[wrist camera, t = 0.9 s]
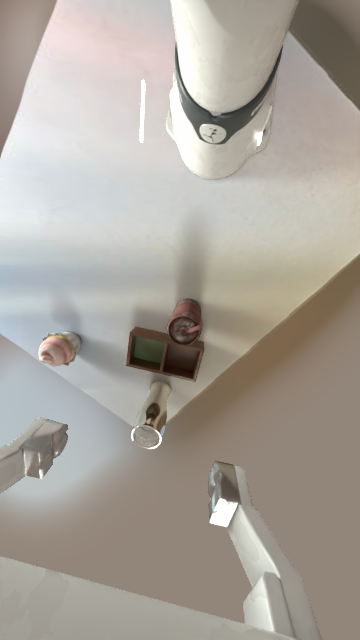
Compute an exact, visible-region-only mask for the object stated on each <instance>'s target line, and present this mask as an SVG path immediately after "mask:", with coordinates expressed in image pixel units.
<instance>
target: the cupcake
mask: <svg viewBox="0 0 360 640" xmlns="http://www.w3.org/2000/svg"><path fill="white" fill-rule="evenodd" d="M80 349H81V340H80V338H79V337H78V336H77V335H76V334H75V333H72V332H63V333H56V334H55V333H49V334H48V336H47V337H44V338H43V342H42V344H41V346H40V348H39V353H38V357H39V359H40V361H42V362H43V363H47V364H49V365H52V366H60V365H62V364H64V365H67V366H68V365H69V363H70V362H73V361H74V360H75V357H76V355H77V353H78V352H79V350H80Z"/></svg>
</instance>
